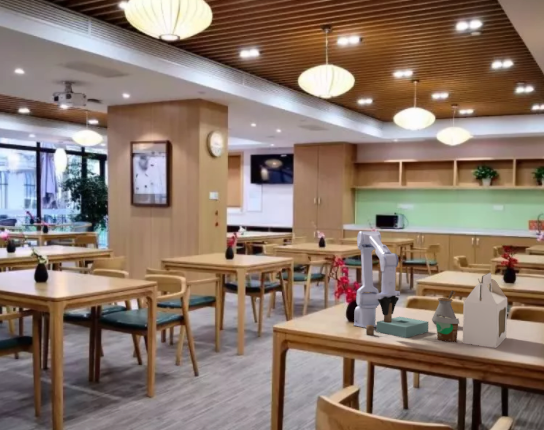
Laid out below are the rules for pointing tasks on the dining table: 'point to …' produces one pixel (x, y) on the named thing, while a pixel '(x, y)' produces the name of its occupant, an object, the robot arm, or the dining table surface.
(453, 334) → the food container
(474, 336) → the gable box
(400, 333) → the hole plate
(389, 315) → the tall pin
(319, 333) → the dining table surface
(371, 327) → the short pin
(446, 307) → the coffee pot
